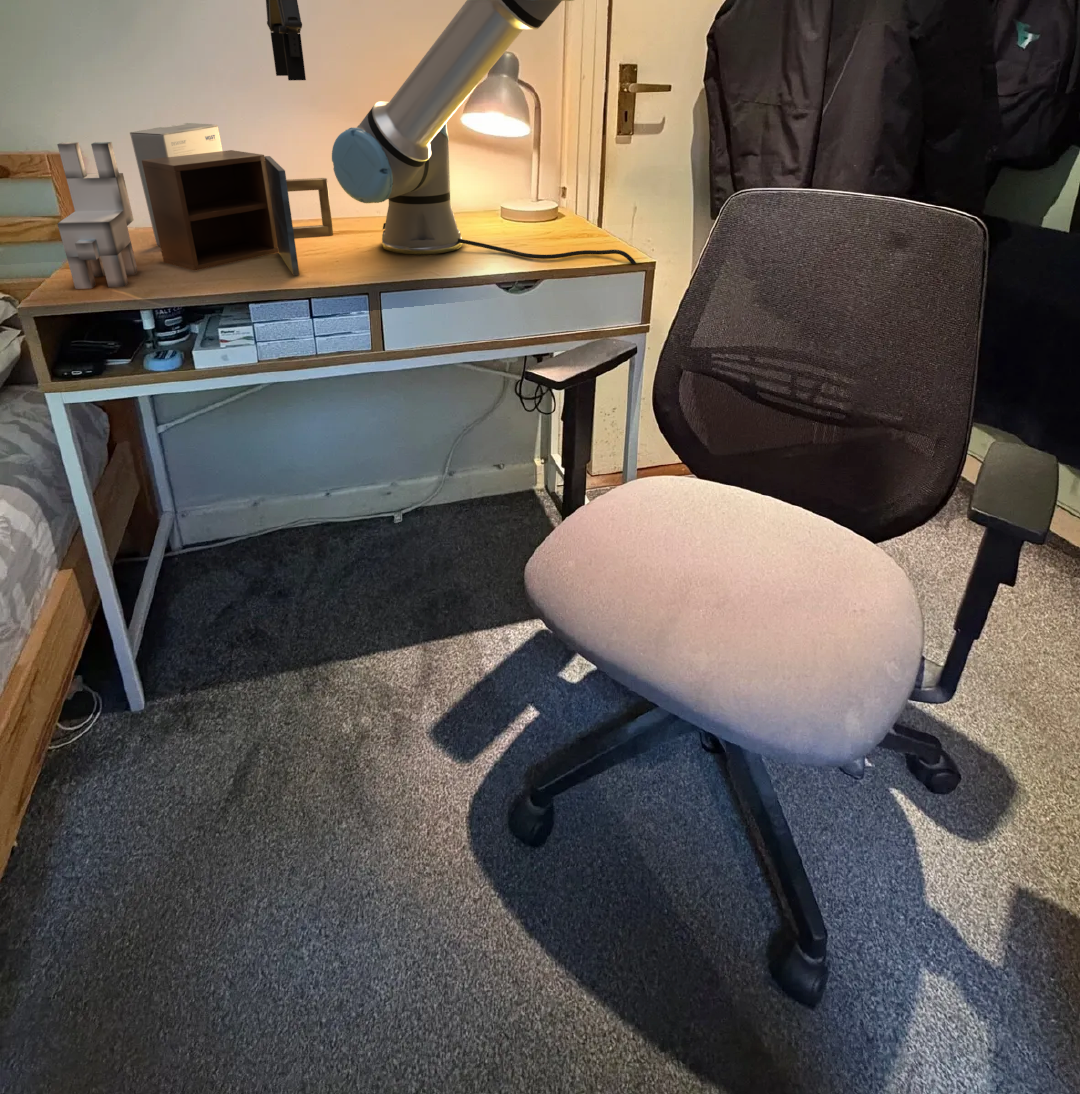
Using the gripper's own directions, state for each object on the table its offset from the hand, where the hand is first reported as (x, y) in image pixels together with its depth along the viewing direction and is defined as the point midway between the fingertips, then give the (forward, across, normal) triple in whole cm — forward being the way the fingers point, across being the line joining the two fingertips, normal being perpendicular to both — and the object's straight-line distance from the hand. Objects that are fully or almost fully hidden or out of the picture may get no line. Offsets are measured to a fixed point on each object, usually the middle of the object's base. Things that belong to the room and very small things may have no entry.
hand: (290, 78), depth 143 cm
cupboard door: (+28, +8, -2) cm, 30 cm away
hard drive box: (+29, -19, -19) cm, 40 cm away
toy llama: (+29, +7, -35) cm, 46 cm away
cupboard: (+29, -2, -16) cm, 33 cm away
